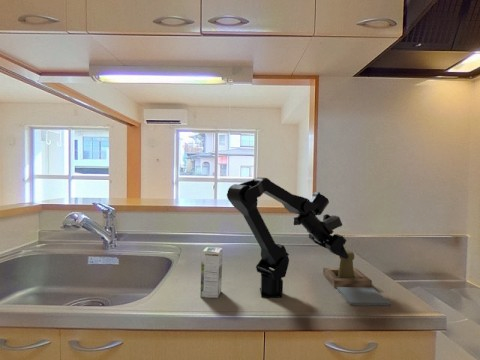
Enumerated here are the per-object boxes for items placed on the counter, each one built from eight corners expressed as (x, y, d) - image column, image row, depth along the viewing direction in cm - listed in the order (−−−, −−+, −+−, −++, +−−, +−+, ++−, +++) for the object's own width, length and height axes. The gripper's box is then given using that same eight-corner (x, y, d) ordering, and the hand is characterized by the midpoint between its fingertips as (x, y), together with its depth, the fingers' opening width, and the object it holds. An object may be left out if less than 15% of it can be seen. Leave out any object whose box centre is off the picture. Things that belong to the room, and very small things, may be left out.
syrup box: (204, 290, 100) (204, 246, 100) (222, 291, 100) (222, 247, 99) (200, 297, 95) (200, 251, 94) (218, 298, 94) (219, 252, 93)
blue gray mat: (350, 305, 91) (350, 302, 91) (337, 289, 103) (337, 286, 103) (390, 305, 91) (390, 302, 91) (372, 289, 103) (372, 287, 103)
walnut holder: (334, 287, 104) (334, 280, 104) (323, 274, 117) (323, 267, 117) (371, 287, 105) (371, 280, 105) (356, 274, 118) (356, 268, 118)
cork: (340, 276, 115) (341, 247, 115) (357, 280, 111) (358, 250, 111) (334, 281, 111) (335, 251, 110) (351, 285, 107) (352, 254, 106)
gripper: (341, 212, 100) (371, 244, 102) (317, 205, 118) (342, 232, 120) (318, 236, 99) (348, 268, 101) (297, 225, 117) (323, 253, 119)
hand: (340, 254), depth 110 cm, fingers open, 9 cm apart
